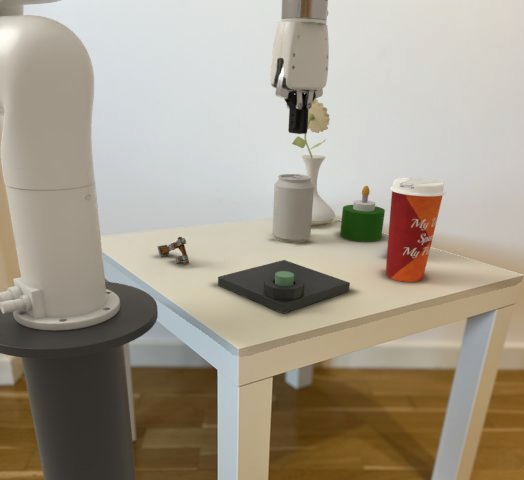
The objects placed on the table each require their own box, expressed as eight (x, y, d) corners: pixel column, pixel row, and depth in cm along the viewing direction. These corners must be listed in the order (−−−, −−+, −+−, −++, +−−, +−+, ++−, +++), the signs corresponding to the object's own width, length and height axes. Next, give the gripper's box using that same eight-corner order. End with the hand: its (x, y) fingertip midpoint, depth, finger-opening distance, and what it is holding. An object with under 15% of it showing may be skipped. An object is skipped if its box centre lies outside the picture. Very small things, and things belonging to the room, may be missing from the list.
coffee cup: (414, 288, 84) (431, 188, 78) (369, 275, 89) (381, 180, 82) (439, 276, 90) (456, 182, 83) (395, 264, 95) (408, 174, 88)
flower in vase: (345, 225, 118) (358, 99, 107) (301, 231, 113) (310, 98, 102) (311, 213, 128) (319, 96, 117) (269, 217, 123) (274, 95, 112)
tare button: (284, 289, 74) (284, 278, 74) (270, 284, 76) (271, 273, 75) (297, 285, 76) (298, 274, 75) (284, 280, 78) (284, 269, 77)
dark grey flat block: (283, 313, 73) (284, 292, 72) (217, 285, 82) (217, 266, 81) (349, 291, 82) (351, 272, 81) (283, 267, 91) (284, 250, 90)
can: (264, 239, 107) (267, 175, 101) (285, 231, 112) (288, 171, 107) (297, 246, 103) (301, 180, 97) (317, 238, 108) (322, 175, 103)
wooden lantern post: (185, 263, 88) (178, 236, 88) (163, 271, 95) (156, 245, 94) (195, 261, 89) (188, 234, 89) (172, 269, 96) (166, 243, 95)
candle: (377, 243, 106) (384, 191, 102) (336, 238, 109) (341, 187, 104) (384, 233, 113) (390, 184, 109) (344, 229, 116) (349, 180, 111)
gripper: (317, 18, 97) (310, 129, 105) (255, 11, 88) (252, 133, 96) (350, 17, 92) (340, 133, 101) (288, 8, 83) (282, 137, 91)
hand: (297, 132), depth 98 cm, fingers closed
